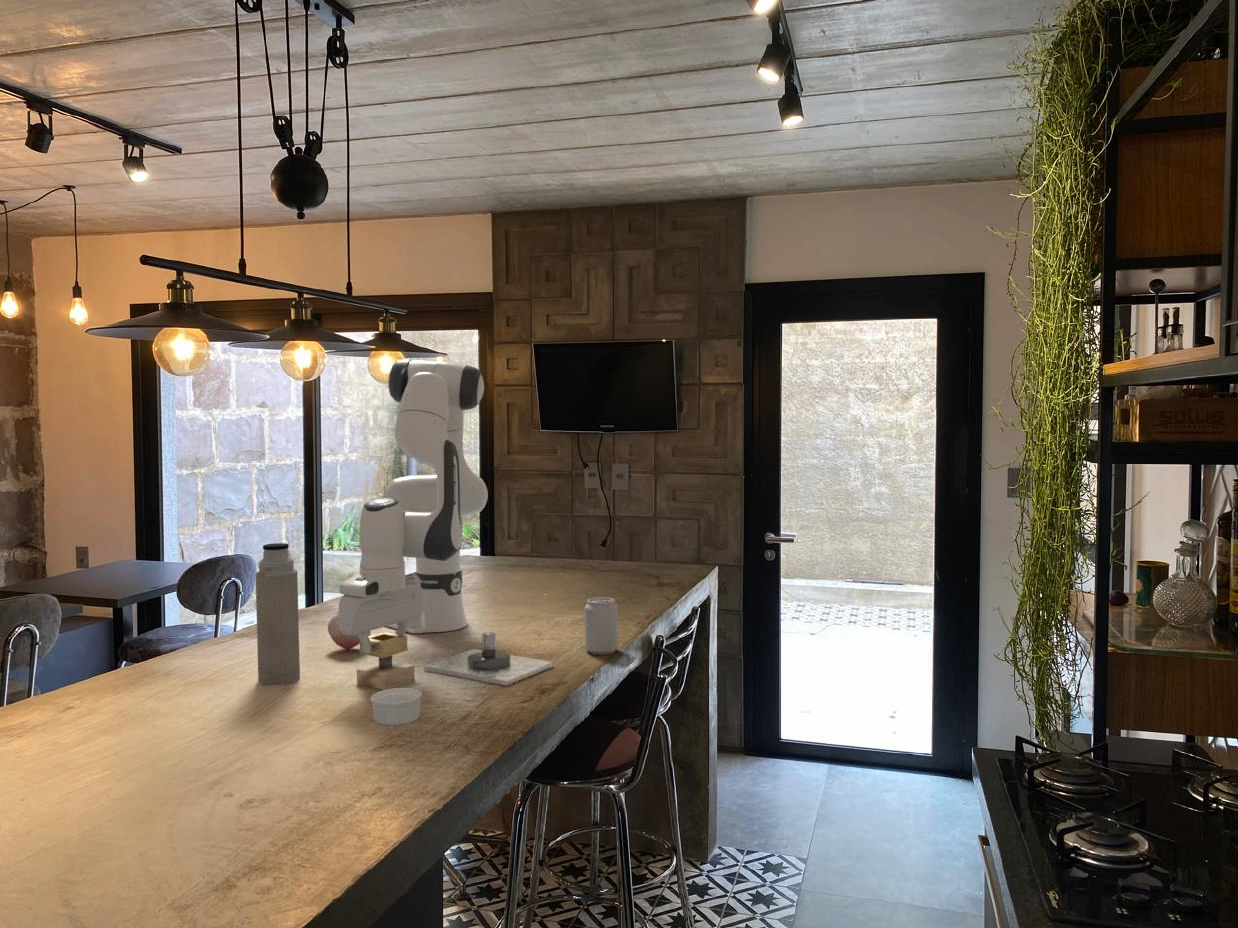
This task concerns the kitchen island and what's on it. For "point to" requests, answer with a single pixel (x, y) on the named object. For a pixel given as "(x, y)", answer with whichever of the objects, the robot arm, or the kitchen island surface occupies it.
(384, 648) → the tan square hollow frame
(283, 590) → the thermos bottle
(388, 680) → the stand
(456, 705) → the kitchen island surface
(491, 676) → the stone base with peg
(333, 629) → the decorative fruit
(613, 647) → the can
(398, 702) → the ramekin
